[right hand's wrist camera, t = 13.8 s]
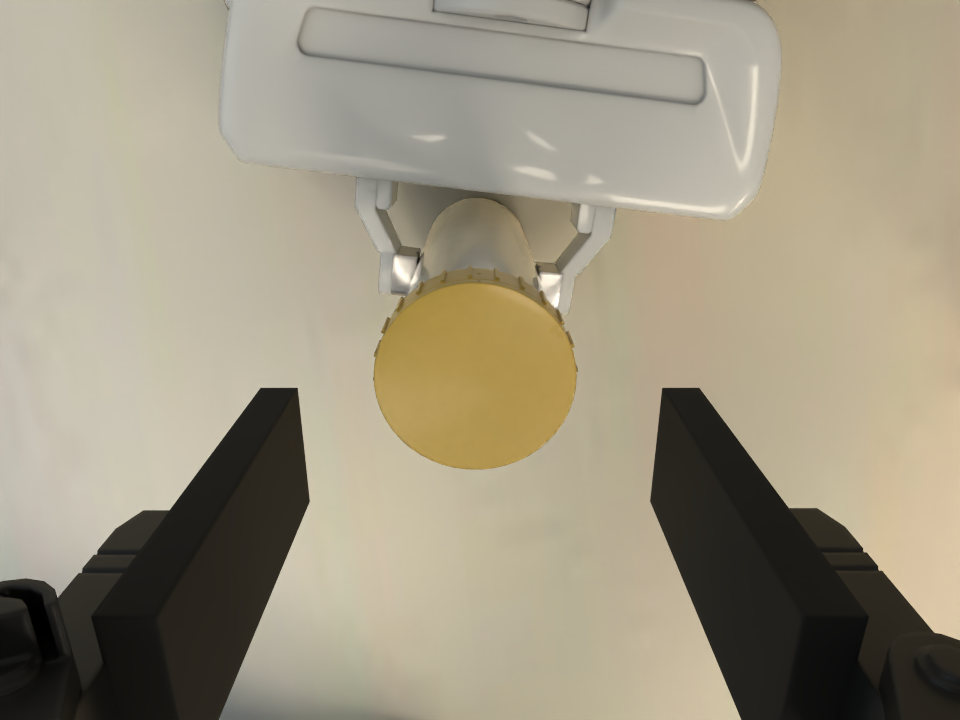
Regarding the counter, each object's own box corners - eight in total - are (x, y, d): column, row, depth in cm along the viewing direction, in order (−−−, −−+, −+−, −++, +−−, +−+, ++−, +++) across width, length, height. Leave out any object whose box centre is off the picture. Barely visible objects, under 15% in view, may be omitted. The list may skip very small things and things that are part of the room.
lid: (557, 249, 19) (564, 262, 17) (582, 429, 20) (590, 455, 19) (358, 284, 19) (348, 300, 17) (402, 458, 21) (396, 486, 19)
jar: (517, 188, 33) (552, 270, 18) (533, 286, 35) (577, 440, 19) (417, 207, 34) (364, 303, 18) (438, 303, 35) (405, 468, 20)
